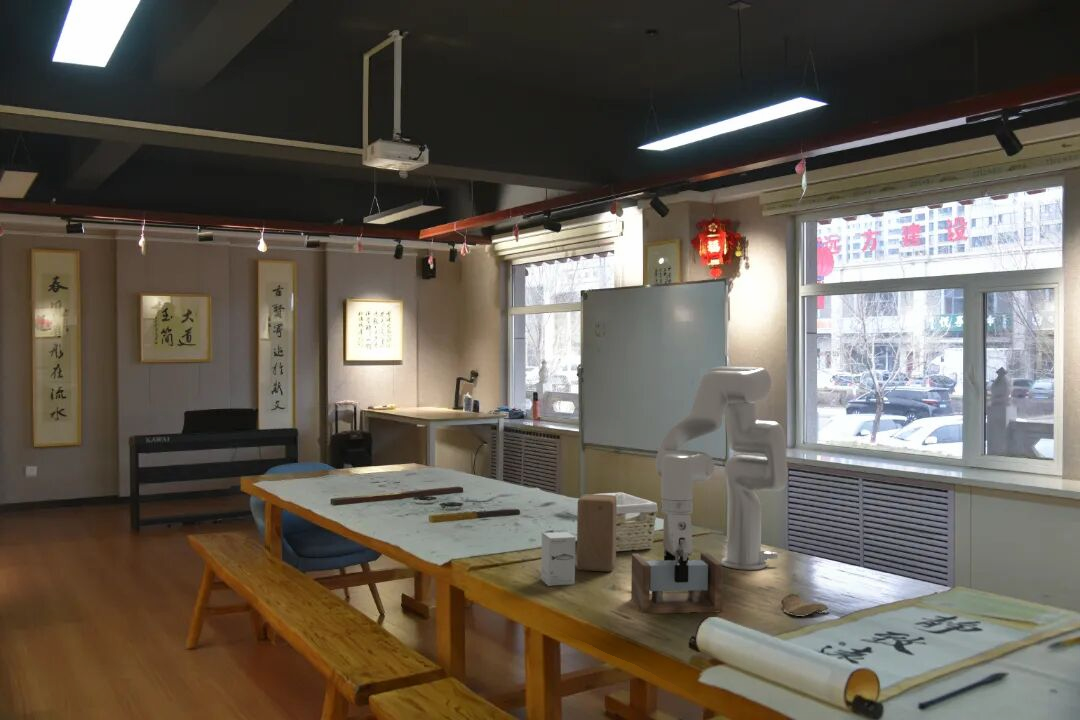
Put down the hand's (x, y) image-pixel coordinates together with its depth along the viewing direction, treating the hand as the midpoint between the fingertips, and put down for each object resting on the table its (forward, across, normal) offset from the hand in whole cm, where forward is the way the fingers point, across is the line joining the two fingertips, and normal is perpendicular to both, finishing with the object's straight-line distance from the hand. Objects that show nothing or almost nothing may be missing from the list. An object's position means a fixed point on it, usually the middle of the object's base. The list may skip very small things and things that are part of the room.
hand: (675, 576), depth 209 cm
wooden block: (+7, +38, +12) cm, 41 cm away
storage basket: (+7, +68, 0) cm, 68 cm away
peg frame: (+7, 0, 0) cm, 7 cm away
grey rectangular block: (+3, 0, 0) cm, 3 cm away
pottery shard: (+7, -6, -29) cm, 30 cm away
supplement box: (+7, +23, +26) cm, 35 cm away
